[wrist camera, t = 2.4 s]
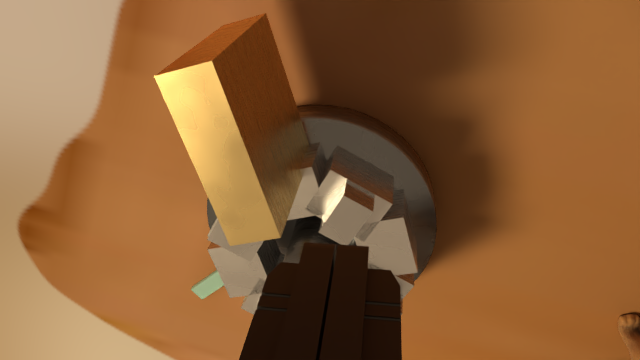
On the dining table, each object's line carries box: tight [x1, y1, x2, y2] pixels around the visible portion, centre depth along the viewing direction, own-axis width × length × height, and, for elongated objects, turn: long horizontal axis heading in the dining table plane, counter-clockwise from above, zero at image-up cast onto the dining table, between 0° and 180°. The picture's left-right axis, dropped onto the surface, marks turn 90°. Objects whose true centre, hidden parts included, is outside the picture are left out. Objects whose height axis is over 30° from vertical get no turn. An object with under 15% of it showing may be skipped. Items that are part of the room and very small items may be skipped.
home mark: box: [191, 270, 224, 299], centre depth 32 cm, size 4×1×1 cm, turn 132°
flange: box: [207, 105, 436, 281], centre depth 26 cm, size 12×12×6 cm
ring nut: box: [154, 13, 418, 315], centre depth 22 cm, size 16×10×7 cm, turn 17°
